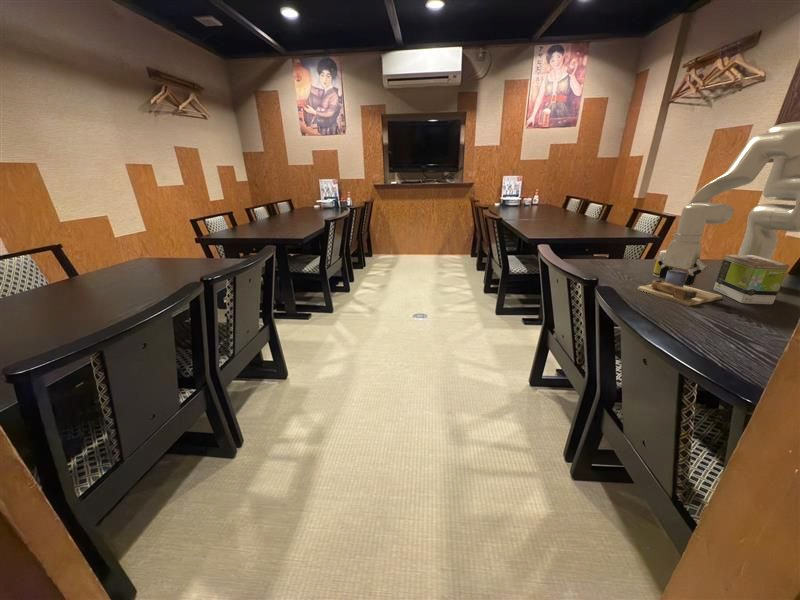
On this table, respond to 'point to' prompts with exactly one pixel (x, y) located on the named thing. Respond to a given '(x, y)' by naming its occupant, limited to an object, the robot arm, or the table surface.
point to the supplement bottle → (657, 266)
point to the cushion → (676, 277)
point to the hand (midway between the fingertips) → (675, 280)
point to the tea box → (750, 278)
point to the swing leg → (672, 288)
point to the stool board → (682, 295)
